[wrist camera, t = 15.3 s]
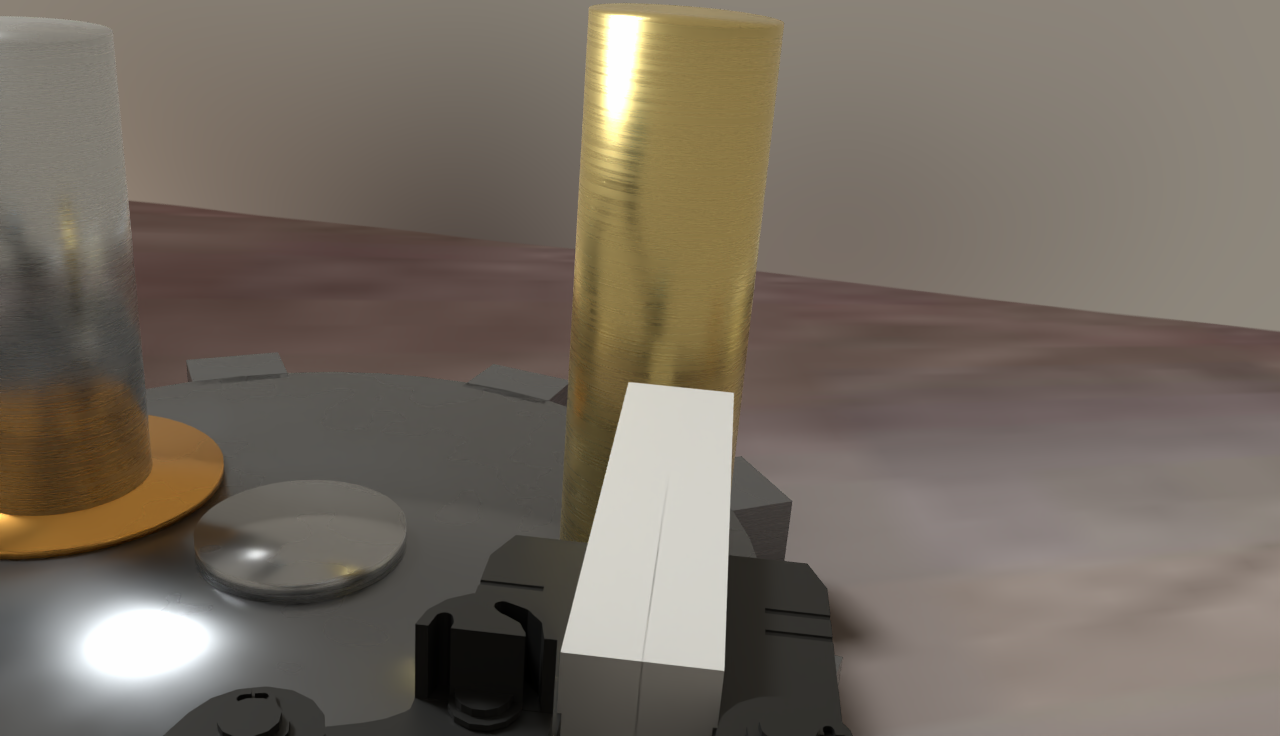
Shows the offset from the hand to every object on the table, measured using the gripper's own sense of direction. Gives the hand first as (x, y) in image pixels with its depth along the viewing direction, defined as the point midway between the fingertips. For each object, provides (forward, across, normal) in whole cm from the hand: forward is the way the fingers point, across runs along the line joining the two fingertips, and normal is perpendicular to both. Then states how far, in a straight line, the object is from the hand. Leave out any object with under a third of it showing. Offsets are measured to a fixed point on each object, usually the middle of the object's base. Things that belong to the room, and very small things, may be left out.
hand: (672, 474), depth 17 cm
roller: (+8, -14, -6) cm, 17 cm away
